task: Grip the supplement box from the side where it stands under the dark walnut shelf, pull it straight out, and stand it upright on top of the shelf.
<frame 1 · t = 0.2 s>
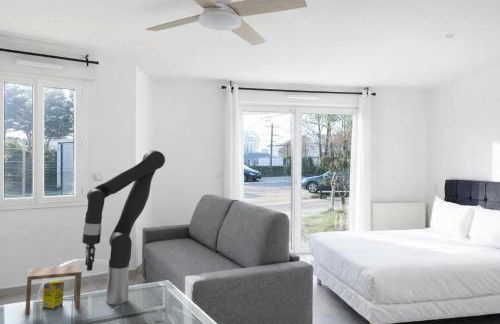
hand: (88, 267, 173), 18 cm above the table, tool pointing down, fingers open, 8 cm apart
supplement box: (52, 307, 170), on the table
walnut shelf: (52, 306, 170), on the table
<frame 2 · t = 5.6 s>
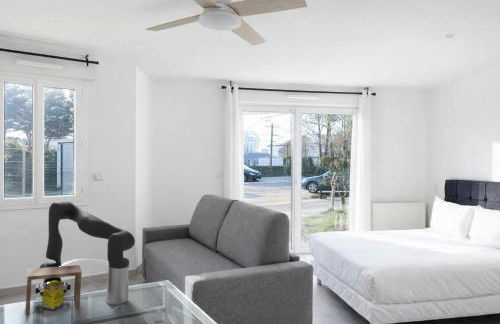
hand: (53, 292, 169), 7 cm above the table, tool horizontal, fingers closed on supplement box, 8 cm apart
supplement box: (52, 307, 169), on the table, touching gripper
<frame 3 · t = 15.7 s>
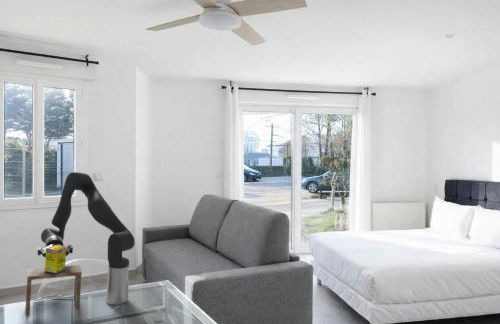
hand: (56, 254, 167), 24 cm above the table, tool horizontal, fingers closed on supplement box, 8 cm apart
supplement box: (55, 272, 168), point 16 cm above the table, touching gripper, walnut shelf
when the fingers open (24 cm above the table, at t = 16.0 s): supplement box stays where it is, resting on walnut shelf.
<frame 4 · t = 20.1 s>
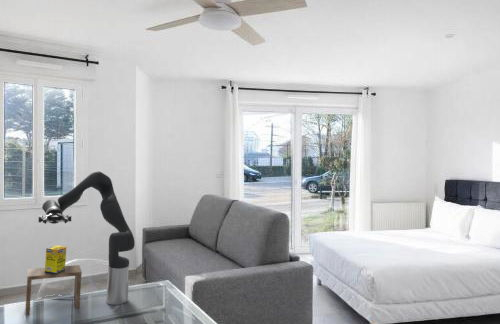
hand: (55, 221, 180), 36 cm above the table, tool horizontal, fingers open, 8 cm apart
supplement box: (54, 272, 168), point 16 cm above the table, touching walnut shelf
at the end: supplement box inside the target area on the walnut shelf (1.6 cm from its centre), point 16.3 cm above the walnut shelf's base; supplement box tilted 0°; the gripper is holding nothing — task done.
